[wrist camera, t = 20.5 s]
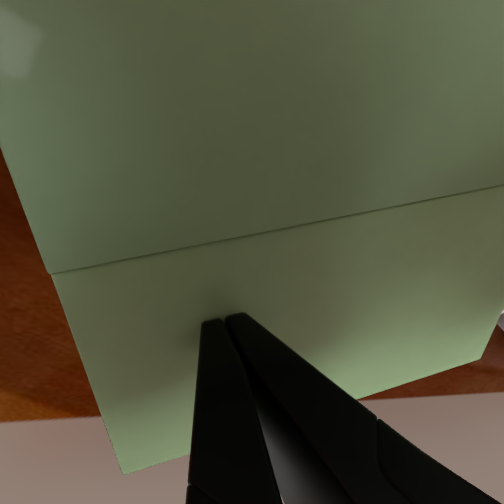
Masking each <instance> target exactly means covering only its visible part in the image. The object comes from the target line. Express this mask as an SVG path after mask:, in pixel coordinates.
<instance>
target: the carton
mask: <svg viewBox="0 0 504 504" xmlns="http://www.w3.org/2000/svg"><path fill="white" fill-rule="evenodd" d="M0 148H1V150H2V153H3V156H4V158H5V161H6V164H7V167H8V169H9V172H10V175H11V177H12V180H13V183H14V185H15V188H16V191H17V193H18V196H19V199H20V201H21V204H22V207H23V209H24V212H25V215H26V217H27V220H28V223H29V225H30V228H31V231H32V233H33V236H34V239H35V241H36V244H37V247H38V249H39V252H40V255H41V257H42V260H43V263H44V266H45V268H46V271H47V272H48V274H53V273H58V272H63V271H68V270H73V269H78V268H83V267H89V266H94V265H99V264H104V263H109V262H114V261H119V260H124V259H129V258H134V257H139V256H144V255H149V254H154V253H159V252H164V251H169V250H174V249H179V248H185V247H190V246H195V245H200V244H205V243H210V242H215V241H220V240H225V239H230V238H235V237H240V236H245V235H250V234H255V233H260V232H265V231H270V230H275V229H281V228H286V227H291V226H296V225H301V224H306V223H311V222H316V221H321V220H326V219H331V218H336V217H341V216H346V215H351V214H356V213H361V212H366V211H371V210H377V209H382V208H387V207H392V206H397V205H402V204H407V203H412V202H417V201H422V200H427V199H432V198H437V197H442V196H447V195H452V194H457V193H462V192H467V191H473V190H478V189H483V188H488V187H493V186H498V185H503V184H504V0H0Z"/></svg>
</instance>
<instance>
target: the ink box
mask: <svg viewBox="0 0 504 504" xmlns="http://www.w3.org/2000/svg"><path fill="white" fill-rule="evenodd" d="M497 324H498V325H499V327H500V328H501V329H502V330H503V331H504V313H502V314H501V315H500V317H499V319H498V322H497Z"/></svg>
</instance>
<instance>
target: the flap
mask: <svg viewBox="0 0 504 504" xmlns="http://www.w3.org/2000/svg"><path fill="white" fill-rule="evenodd" d="M51 276H52V279H53V282H54V285H55V287H56V290H57V293H58V296H59V299H60V301H61V304H62V307H63V310H64V313H65V315H66V318H67V321H68V324H69V326H70V329H71V332H72V335H73V338H74V340H75V343H76V346H77V349H78V352H79V354H80V357H81V360H82V363H83V365H84V368H85V371H86V374H87V377H88V379H89V382H90V385H91V388H92V391H93V393H94V396H95V399H96V402H97V404H98V407H99V410H100V413H101V416H102V418H103V421H104V424H105V427H106V430H107V432H108V435H109V438H110V441H111V443H112V446H113V449H114V451H115V455H116V457H117V460H118V463H119V466H120V469H121V471H122V474H123V475H127V474H130V473H133V472H135V471H139V470H142V469H145V468H148V467H151V466H153V465H157V464H160V463H163V462H166V461H169V460H172V459H175V458H179V457H181V456H185V455H187V454H190V449H191V437H192V425H193V413H194V401H195V389H196V378H197V366H198V354H199V342H200V330H201V324H202V322H204V321H207V320H211V319H215V318H220V319H221V320H222V321H223V323H224V325H225V317H226V316H228V315H232V314H236V313H240V312H245V313H247V314H248V315H249V316H251V317H252V318H253V319H254V320H256V321H257V322H258V323H259V324H261V325H262V326H263V327H264V328H266V329H267V330H268V331H270V332H271V333H272V334H273V335H275V336H276V337H277V338H278V339H280V340H281V341H282V342H283V343H285V344H286V345H287V346H289V347H290V348H291V349H292V350H294V351H295V352H296V353H297V354H299V355H300V356H301V357H302V358H304V359H305V360H306V361H307V362H309V363H310V364H311V365H313V366H314V367H315V368H316V369H318V370H319V371H320V372H321V373H323V374H324V375H325V376H326V377H328V378H329V379H330V380H332V381H333V382H334V383H335V384H337V385H338V386H339V387H340V388H342V389H343V390H344V391H345V392H347V393H348V394H349V395H350V396H352V397H353V398H354V399H359V398H362V397H365V396H368V395H371V394H374V393H377V392H380V391H383V390H387V389H390V388H393V387H396V386H399V385H402V384H405V383H408V382H411V381H414V380H417V379H420V378H423V377H426V376H429V375H432V374H435V373H438V372H442V371H445V370H448V369H451V368H454V367H457V366H460V365H463V364H466V363H469V362H472V361H475V360H478V359H480V358H481V356H482V354H483V352H484V350H485V347H486V345H487V343H488V341H489V339H490V337H491V334H492V332H493V330H494V328H495V326H496V324H497V322H498V319H499V317H500V315H501V313H502V311H503V309H504V184H503V185H498V186H493V187H488V188H483V189H478V190H473V191H467V192H462V193H457V194H452V195H447V196H442V197H437V198H432V199H427V200H422V201H417V202H412V203H407V204H402V205H397V206H392V207H387V208H382V209H377V210H371V211H366V212H361V213H356V214H351V215H346V216H341V217H336V218H331V219H326V220H321V221H316V222H311V223H306V224H301V225H296V226H291V227H286V228H281V229H275V230H270V231H265V232H260V233H255V234H250V235H245V236H240V237H235V238H230V239H225V240H220V241H215V242H210V243H205V244H200V245H195V246H190V247H185V248H179V249H174V250H169V251H164V252H159V253H154V254H149V255H144V256H139V257H134V258H129V259H124V260H119V261H114V262H109V263H104V264H99V265H94V266H89V267H83V268H78V269H73V270H68V271H63V272H58V273H53V274H52V275H51Z"/></svg>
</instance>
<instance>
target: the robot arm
mask: <svg viewBox="0 0 504 504" xmlns="http://www.w3.org/2000/svg"><path fill="white" fill-rule="evenodd" d="M280 494H281V496H282V498H283V501H284V503H285V504H501V503H500V502H498V501H497V500H495V499H494V498H492V497H490V496H489V495H487V494H486V493H484V492H483V491H481V490H480V489H478V488H477V487H475V486H474V485H472V484H470V483H469V482H467V481H466V480H464V479H463V478H461V477H460V476H458V475H456V474H455V473H454V472H452V471H451V470H449V469H448V468H446V467H445V466H443V465H441V464H440V463H439V462H437V461H436V460H434V459H433V458H432V457H430V456H429V455H427V454H426V453H424V452H423V451H421V450H420V449H419V448H417V447H416V446H415V445H413V444H412V443H411V442H409V441H408V440H407V439H405V438H404V437H403V436H401V435H400V434H399V433H397V432H396V431H395V430H394V429H392V428H391V427H390V426H389V425H387V424H386V423H385V422H384V421H382V420H381V419H378V420H377V417H376V415H375V414H373V413H372V412H371V411H369V410H368V409H367V408H366V407H364V406H363V405H362V404H361V403H359V402H358V401H357V400H356V399H354V398H353V397H352V396H350V395H349V394H348V393H347V392H345V391H344V390H343V389H342V388H340V387H339V386H338V385H337V384H335V383H334V382H333V381H332V380H330V379H329V378H328V377H326V376H325V375H324V374H323V373H321V372H320V371H319V370H318V369H316V368H315V367H314V366H313V365H311V364H310V363H309V362H307V361H306V360H305V359H304V358H302V357H301V356H300V355H299V354H297V353H296V352H295V351H294V350H292V349H291V348H290V347H289V346H287V345H286V344H285V343H283V342H282V341H281V340H280V339H278V338H277V337H276V336H275V335H273V334H272V333H271V332H270V331H268V330H267V329H266V328H264V327H263V326H262V325H261V324H259V323H258V322H257V321H256V320H254V319H253V318H252V317H251V316H249V315H248V314H247V313H245V312H240V313H236V314H232V315H228V316H226V317H225V325H224V323H223V321H222V320H221V319H220V318H215V319H211V320H207V321H204V322H202V324H201V330H200V342H199V354H198V366H197V378H196V389H195V401H194V413H193V425H192V437H191V449H190V461H189V472H188V486H187V493H186V504H283V503H282V499H281V496H280Z"/></svg>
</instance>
